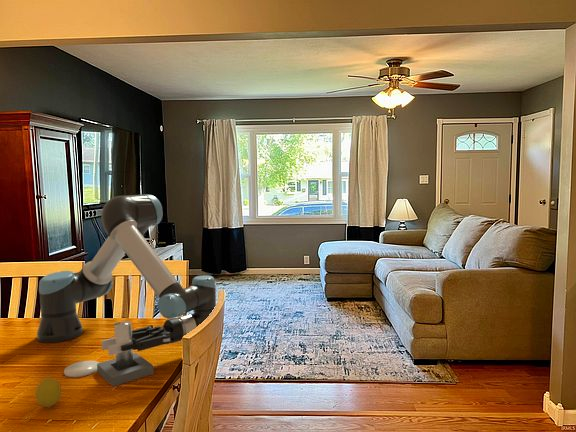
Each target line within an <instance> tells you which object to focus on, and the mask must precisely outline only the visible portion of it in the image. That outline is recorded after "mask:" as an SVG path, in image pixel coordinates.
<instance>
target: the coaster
mask: <svg viewBox="0 0 576 432" xmlns="http://www.w3.org/2000/svg"><path fill="white" fill-rule="evenodd" d="M98 363H100V362H99V361H96V360H84V361H83V360H82V361H78V362H75V363H72V364H70V365H68V366H66V367H65V368H64V370H63V375H64V376H65V377H68V378H81V377H85V376H90V375H92V374H95V373H97V364H98Z"/></svg>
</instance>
